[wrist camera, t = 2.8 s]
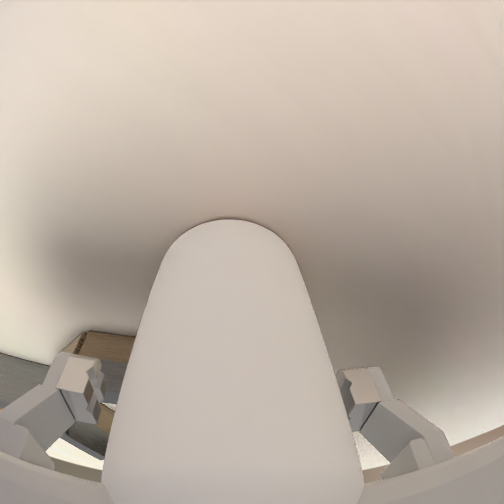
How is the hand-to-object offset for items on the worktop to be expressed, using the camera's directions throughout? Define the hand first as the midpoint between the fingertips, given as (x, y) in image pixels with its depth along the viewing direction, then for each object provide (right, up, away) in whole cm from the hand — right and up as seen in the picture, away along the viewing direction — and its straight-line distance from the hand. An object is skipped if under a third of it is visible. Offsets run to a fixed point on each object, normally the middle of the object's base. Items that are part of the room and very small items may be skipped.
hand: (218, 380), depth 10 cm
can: (0, +3, +5) cm, 6 cm away
